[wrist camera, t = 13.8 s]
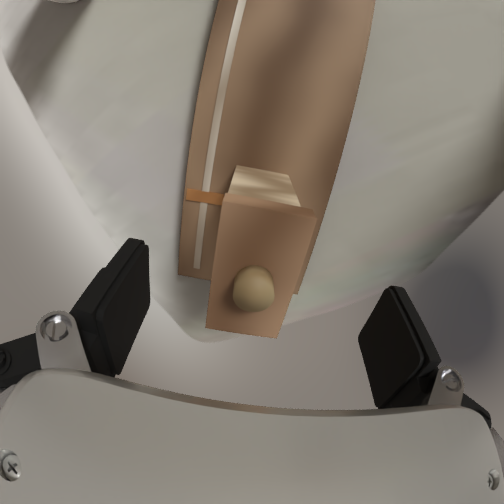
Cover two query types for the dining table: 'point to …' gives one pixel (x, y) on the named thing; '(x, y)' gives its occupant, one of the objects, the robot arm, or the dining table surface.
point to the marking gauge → (257, 253)
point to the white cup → (64, 1)
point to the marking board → (271, 108)
